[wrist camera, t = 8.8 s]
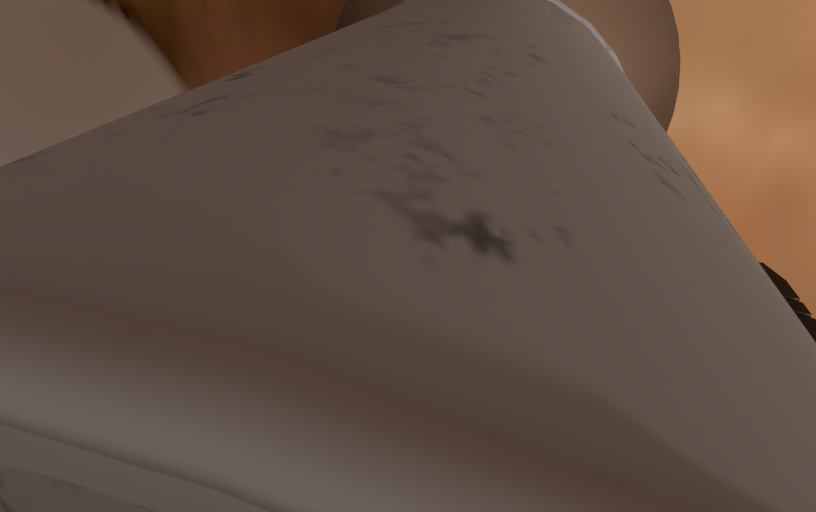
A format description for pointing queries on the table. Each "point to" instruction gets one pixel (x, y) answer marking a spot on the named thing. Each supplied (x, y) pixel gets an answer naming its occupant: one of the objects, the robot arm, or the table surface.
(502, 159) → the speckled grey cylinder
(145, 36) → the table surface
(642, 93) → the plinth
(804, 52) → the table surface
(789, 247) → the table surface
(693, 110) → the table surface
